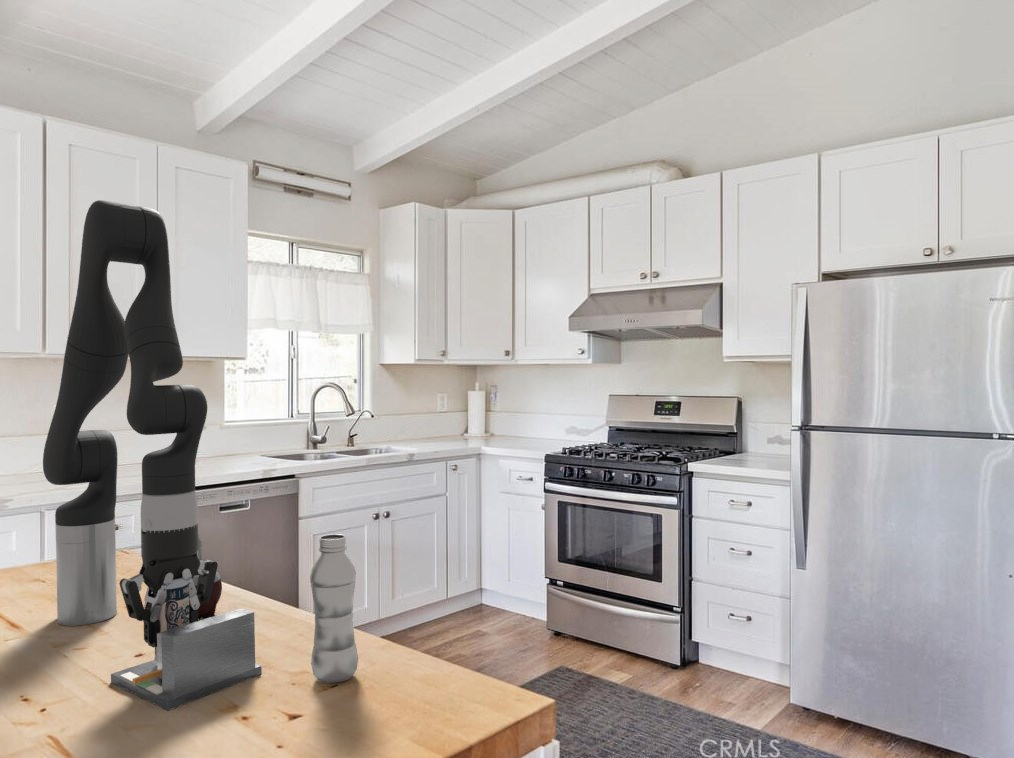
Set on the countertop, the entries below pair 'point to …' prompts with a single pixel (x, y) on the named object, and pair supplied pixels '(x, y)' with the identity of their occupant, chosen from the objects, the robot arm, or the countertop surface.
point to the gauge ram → (159, 660)
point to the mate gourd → (209, 607)
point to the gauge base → (197, 660)
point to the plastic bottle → (333, 612)
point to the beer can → (174, 606)
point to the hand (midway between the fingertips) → (171, 639)
